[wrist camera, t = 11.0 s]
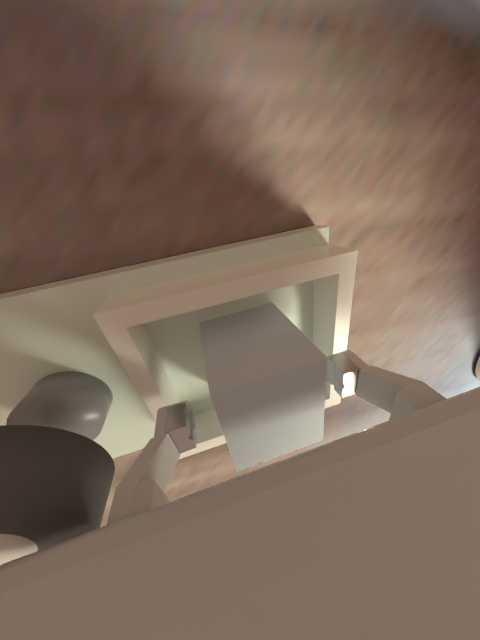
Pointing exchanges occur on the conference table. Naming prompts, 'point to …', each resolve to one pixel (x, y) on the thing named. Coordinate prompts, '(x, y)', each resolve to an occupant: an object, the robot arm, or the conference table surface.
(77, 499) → the wheel
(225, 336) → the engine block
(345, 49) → the conference table surface
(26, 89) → the conference table surface
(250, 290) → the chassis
